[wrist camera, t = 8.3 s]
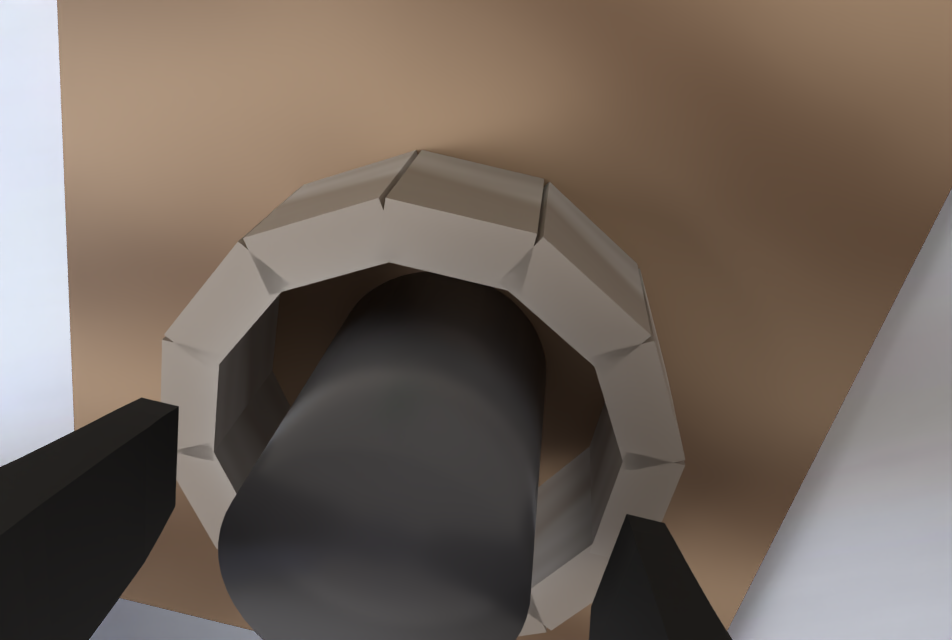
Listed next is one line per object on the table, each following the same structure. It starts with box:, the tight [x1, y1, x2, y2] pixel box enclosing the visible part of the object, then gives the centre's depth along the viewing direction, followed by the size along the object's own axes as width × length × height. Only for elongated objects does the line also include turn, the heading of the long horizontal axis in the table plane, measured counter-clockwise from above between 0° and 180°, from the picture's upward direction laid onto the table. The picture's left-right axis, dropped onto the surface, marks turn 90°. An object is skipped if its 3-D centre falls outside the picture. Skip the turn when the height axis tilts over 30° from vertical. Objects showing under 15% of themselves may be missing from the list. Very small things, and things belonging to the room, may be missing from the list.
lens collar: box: [57, 0, 952, 640], centre depth 15 cm, size 18×16×4 cm
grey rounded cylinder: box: [218, 272, 546, 640], centre depth 13 cm, size 4×4×6 cm
